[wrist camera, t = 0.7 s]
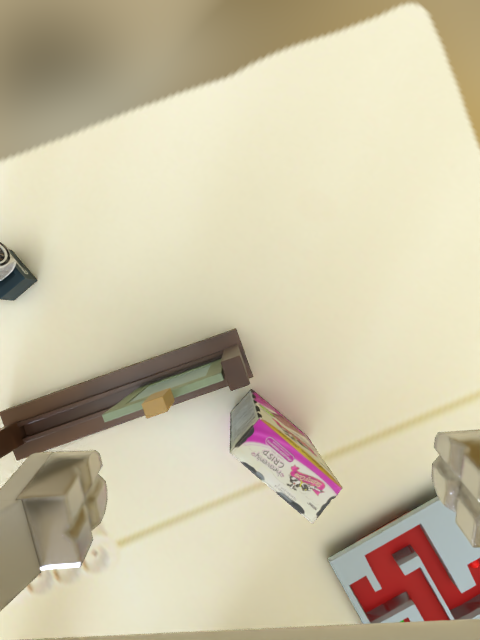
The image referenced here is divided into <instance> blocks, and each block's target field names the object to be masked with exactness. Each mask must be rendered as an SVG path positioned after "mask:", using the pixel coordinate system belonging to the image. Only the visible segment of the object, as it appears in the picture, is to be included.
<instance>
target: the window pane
mask: <svg viewBox="0 0 480 640" xmlns="http://www.w3.org/2000/svg"><path fill="white" fill-rule="evenodd" d="M221 359H222V358H221ZM221 359H218V360H215V361H212V362H209V363H207V364H204V365H201V366H198V367H195V368H192V369H190V370H187V371H184V372H181V373H178V374H175V375H173V376H170V377H167V378H164V379H161V380H158V381H156V382H153V383H150V384H147V385H144V386H141V387H139V388H137V389H136V390H135V391H133V392H132V393H131V394H129V395H128V396H127V397H125V398H124V399H123V400H121V401H120V402H119V403H117V404H116V405H115V406H113V407H112V408H111V409H109V410H108V411H107V412H105V413H104V414H103V415H102V417H103V419H104V422H107V421H110V420H113V419H116V418H119V417H122V416H124V415H127V414H130V413H133V412H136V411H139V410H141V409H143V410H144V413H145V416H146V418H150V417H153V416H156V415H158V414H161V413H164V412H167V411H168V410H169V408H170V407H171V406H172V404H173V403H174V401H175V400H174V398H175V397H178V396H181V395H184V394H186V393H189V392H192V391H195V390H198V389H201V388H203V387H206V386H209V385H212V384H215V383H218V382H220V381H223V380H224V375H225V374H224V371H223V368H222V365H221Z"/></svg>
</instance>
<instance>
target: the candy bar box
mask: <svg viewBox="0 0 480 640" xmlns="http://www.w3.org/2000/svg"><path fill="white" fill-rule="evenodd" d="M230 417H231V418H230V420H231V422H230V423H231V424H230V453H231V454H232V455H233V456H234V457H235V458H236V459H237V460H239V461H240V462H241V463H242V464H243V465H244V466H246V467H247V468H248V469H249V470H250V471H251V472H252V473H254V474H255V475H256V476H257V477H258V478H259V479H261V480H262V481H263V482H264V483H265V484H266V485H268V486H269V487H270V488H271V489H272V490H273V491H275V492H276V493H277V494H278V495H279V496H280V497H281V498H283V499H284V500H285V501H286V502H287V503H288V504H290V505H291V506H292V507H293V508H294V509H296V510H297V511H298V512H299V513H300V514H301V515H303V516H304V517H305V518H306V519H307V520H309V521H310V522H311V523H314V521H315V520H316V519H317V518H318V516H319V515H320V514H321V513H322V511H323V510H324V509H325V508H326V506H327V505H328V504H329V503H330V501H331V500H332V499H334V498H335V497H336V496H337V494H338V493H339V492H340V490H341V489H342V486H341V485H340V484H339V482H338V481H337V479H336V478H335V476H334V475H333V473H332V472H331V470H330V469H329V467H328V466H327V464H326V463H325V462H324V460H323V459H322V457H321V456H320V454H319V453H318V451H317V450H316V448H315V447H314V445H313V444H312V442H311V441H310V439H309V438H308V437H307V436H306V435H305V434H304V433H303V432H301V431H300V430H299V429H298V428H297V427H296V426H294V425H293V424H292V423H291V422H290V421H289V420H287V419H286V418H285V417H284V416H283V415H282V414H280V413H279V412H278V411H277V410H276V409H275V408H273V407H272V406H271V405H270V404H269V403H268V402H266V401H265V400H264V399H263V398H262V397H260V396H259V395H258V394H257V393H256V392H255V391H253V390H252V389H251V390H250V391H249V392H248V394H247V395H246V396H245V397H244V398H243V399H242V400H241V402H240V403H239V404H238V405H237V406H236V407H235V408H234V409H233V410H232V411H231V416H230Z"/></svg>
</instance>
